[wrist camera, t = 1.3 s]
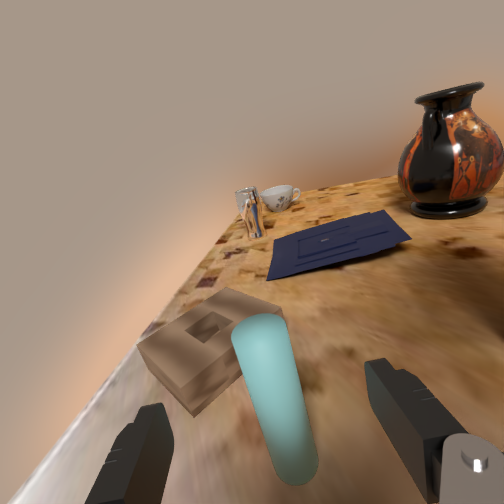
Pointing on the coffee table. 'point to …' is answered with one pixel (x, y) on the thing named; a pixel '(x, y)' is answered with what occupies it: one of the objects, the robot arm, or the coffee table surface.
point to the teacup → (279, 197)
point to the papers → (334, 243)
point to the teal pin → (276, 395)
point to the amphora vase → (450, 157)
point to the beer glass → (251, 212)
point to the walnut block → (201, 348)
